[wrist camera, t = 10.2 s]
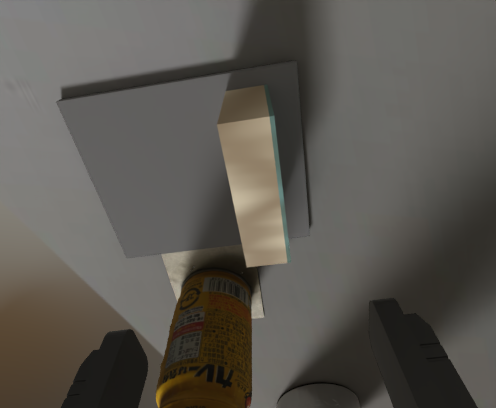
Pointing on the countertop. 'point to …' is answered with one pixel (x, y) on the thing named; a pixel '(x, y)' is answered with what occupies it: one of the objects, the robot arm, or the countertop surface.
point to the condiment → (210, 330)
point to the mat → (181, 158)
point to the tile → (254, 174)
